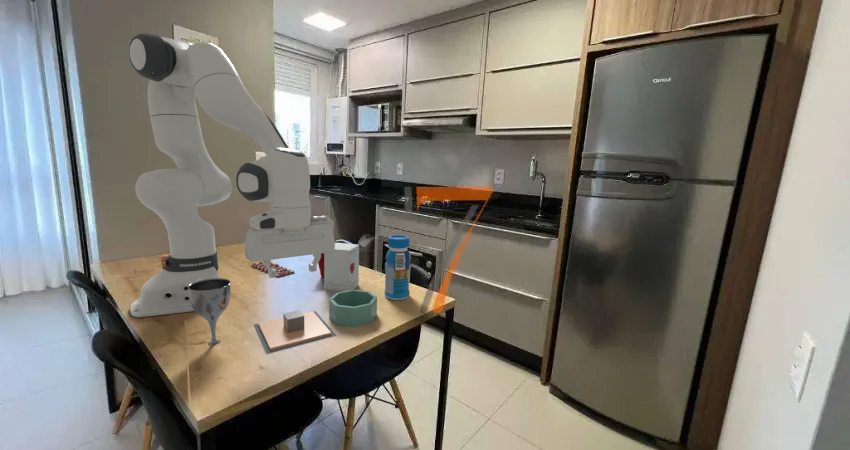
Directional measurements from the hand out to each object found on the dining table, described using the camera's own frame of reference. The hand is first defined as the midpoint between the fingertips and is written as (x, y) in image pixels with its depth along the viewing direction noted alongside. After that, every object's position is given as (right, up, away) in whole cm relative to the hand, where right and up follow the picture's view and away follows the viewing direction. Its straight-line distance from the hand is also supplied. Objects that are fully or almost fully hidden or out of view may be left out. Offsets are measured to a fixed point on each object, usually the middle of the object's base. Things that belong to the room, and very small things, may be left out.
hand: (293, 273), depth 83 cm
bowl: (+12, -14, +12) cm, 22 cm away
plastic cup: (-4, -8, +44) cm, 45 cm away
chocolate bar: (-27, -6, +49) cm, 57 cm away
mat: (-1, -15, +3) cm, 16 cm away
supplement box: (+4, -10, +34) cm, 36 cm away
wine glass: (-16, -16, -4) cm, 24 cm away
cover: (-1, -15, +3) cm, 15 cm away
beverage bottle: (+23, -12, +30) cm, 39 cm away
